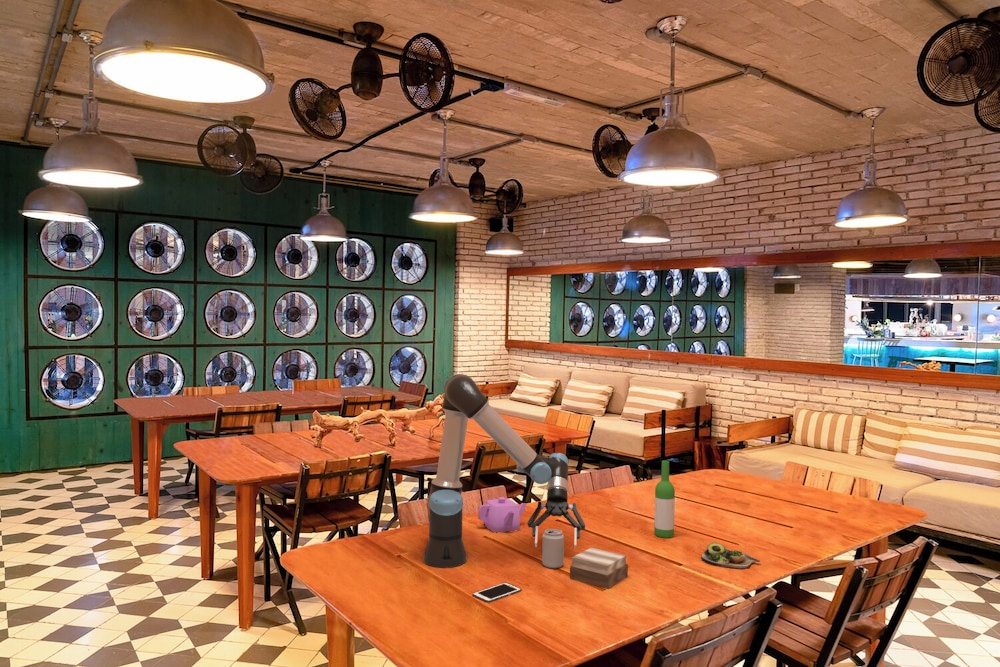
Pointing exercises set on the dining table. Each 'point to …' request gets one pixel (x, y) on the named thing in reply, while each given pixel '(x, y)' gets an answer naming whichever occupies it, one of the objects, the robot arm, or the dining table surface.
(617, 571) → the plinth
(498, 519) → the teakettle
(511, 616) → the dining table surface
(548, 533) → the can
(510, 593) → the cell phone
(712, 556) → the salad plate
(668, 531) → the wine bottle
